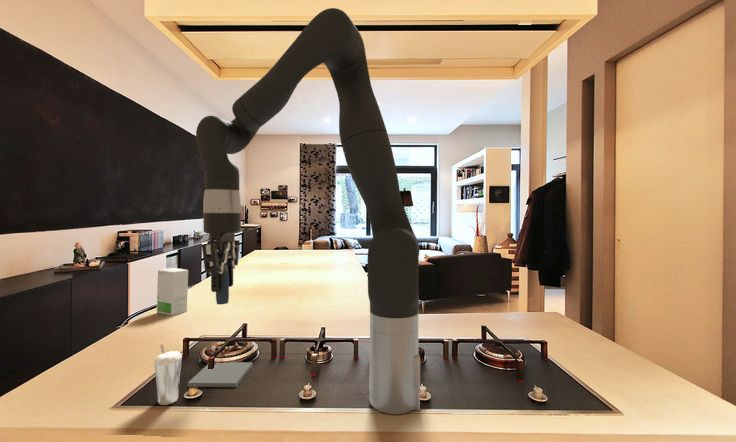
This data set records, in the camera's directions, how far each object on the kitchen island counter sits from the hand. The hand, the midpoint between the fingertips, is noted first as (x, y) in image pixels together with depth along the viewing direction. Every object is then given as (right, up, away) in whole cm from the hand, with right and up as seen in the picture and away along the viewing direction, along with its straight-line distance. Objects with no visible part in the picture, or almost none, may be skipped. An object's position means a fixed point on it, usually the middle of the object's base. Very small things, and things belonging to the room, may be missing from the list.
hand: (222, 288), depth 76 cm
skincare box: (-39, -18, +49) cm, 66 cm away
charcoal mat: (0, -19, 0) cm, 19 cm away
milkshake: (-6, -20, -10) cm, 23 cm away
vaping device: (0, -3, 0) cm, 3 cm away
